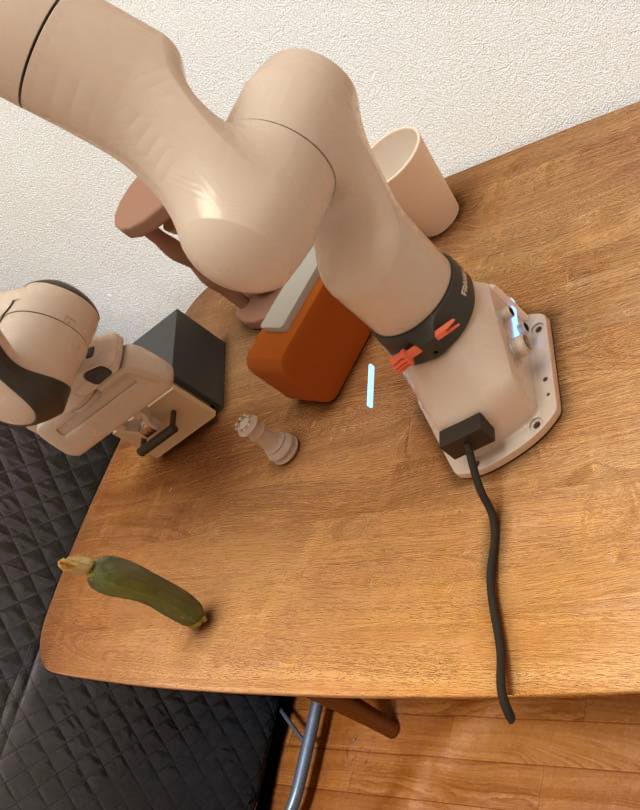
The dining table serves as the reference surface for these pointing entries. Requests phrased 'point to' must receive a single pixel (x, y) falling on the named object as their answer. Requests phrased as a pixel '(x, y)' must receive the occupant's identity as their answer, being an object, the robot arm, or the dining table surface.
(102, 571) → the vegetable
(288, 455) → the rook chess piece
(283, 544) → the dining table surface
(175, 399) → the drawer
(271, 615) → the dining table surface
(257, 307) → the hourglass
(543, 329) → the robot arm
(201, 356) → the cabinet
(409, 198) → the cup
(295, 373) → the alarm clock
